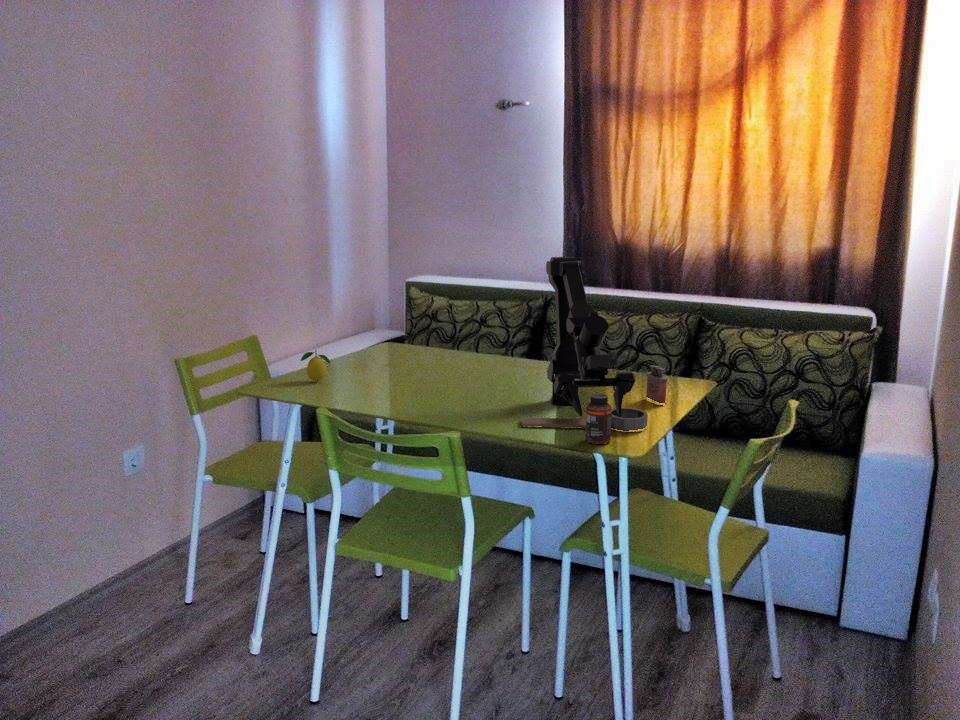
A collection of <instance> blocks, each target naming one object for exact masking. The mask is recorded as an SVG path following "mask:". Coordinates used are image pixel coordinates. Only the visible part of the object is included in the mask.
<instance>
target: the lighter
mask: <svg viewBox="0 0 960 720" xmlns="http://www.w3.org/2000/svg"><path fill="white" fill-rule="evenodd" d="M665 375H666V369H665V368H663V367H661V366H660V365H650V371H648V372H646V391H645V392H646V393H645V396H646V397H648V398H650V399H652V400H654V401H657V402H659V403H665V401H666V400H667V399H666V398H667V385H668V384H667V382H668V379H669V378H668V377H667V376H665ZM666 402H667V401H666Z"/></svg>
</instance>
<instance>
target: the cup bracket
mask: <svg viewBox="0 0 960 720" xmlns="http://www.w3.org/2000/svg"><path fill="white" fill-rule="evenodd" d="M648 420H649V419H648V413H647V411H644V410H642V409H638V408H633V407H621V413H620V415H618V413H617V411H616V408H612V411H611V428H613V429H617V430H623V431H629V430H638V429H643V428H645V427H646V426H647V427H648ZM522 426H542V427H582V428H586V418H562V417H560V418H557V417H556V418H555V417H554V418H553V417H527V416H526V417H525V416H523V417H521V427H522Z"/></svg>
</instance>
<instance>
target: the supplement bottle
mask: <svg viewBox="0 0 960 720" xmlns="http://www.w3.org/2000/svg"><path fill="white" fill-rule="evenodd" d="M608 401H609V399H608V395H607V394H604V393H593V394H591V395H590V402H589V403H588V404H587V405H586V408H585V409H586V410H585V419H586V429H585V441H586V442H587V443H588V442H589V443H588V444H590V443H593V444H592V445H595V444H603V445H606V444H605V443H607V444H609V443H610V442H611V438H612V437H611V436H612V430H611V411H612V409H613V408H612V406H611V404H609V403H608ZM608 442H609V443H608Z"/></svg>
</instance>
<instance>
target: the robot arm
mask: <svg viewBox="0 0 960 720" xmlns="http://www.w3.org/2000/svg"><path fill="white" fill-rule="evenodd" d="M545 272H546V274H547V277H548V282H549V284H550V285H551V287H552V288H553V290H554V296H555V297H554V298H555V319H556V320H555V321H556V323H555V324H556V346H555V348H554V350H553V351H552V353H551V359H550V361H549V363H548V366H547V367H548V368H546V369H547V370H546V375H547V379H548V380H549V382H550V383H552V387H551V388H552V389H551V390H552V391H551V398H550V399H551V404H552V405H564V404H571V407H572V408H573V409H574V411H575V412H576V413H577V414H578V416H579V417H582V416H583V409H582V406H581V400H580V397H579V388H599V387H600V388H601V387H612V389H613V391H614V392H613V400H614V405H615V409H616V411H617V413H618V415H620V413H621V408H623V407H622V405H623V400H624V396H626V395H627V393H629V392H631V390H632V389H633V387H634V386H635V383H636V376H635V374H634V373H633V372H632V371H617V373H616V374H615V376H614V377H606V376H607V375H608V374H609V369H611V367H615V366H617V365H618V355H617V352H616V351H609V352H607V353H606V354H601V349H600V348H601V347H600V346H601V345H602V344H603V341H604V339H605V337H606V334H607V332H608V330H609V322H608V321H607V320H606V318H604V317H603V316H600V315H599V312H598V311H596V309H595V308H594V307H593V306H592V305H591V304H589V302H588V298H587V294H586V289H585V286H584V282H583V277H582V261H580V260H576V258H575V257H574V256H551V257H550V260H547V261H546V264H545ZM575 337H578V338H576V339H575Z"/></svg>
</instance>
